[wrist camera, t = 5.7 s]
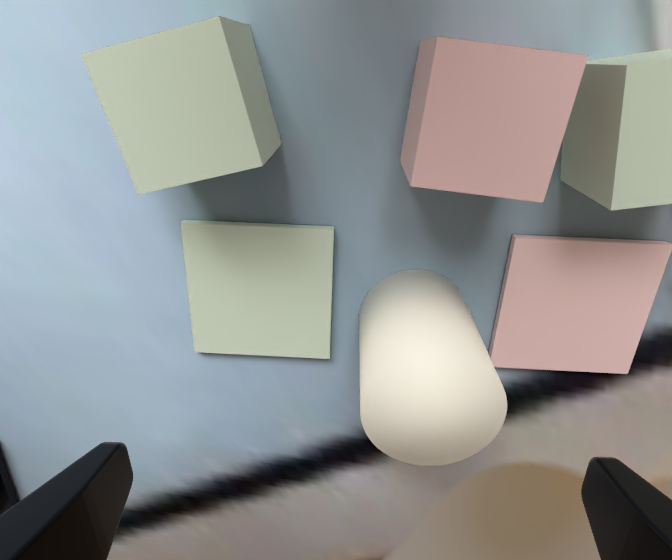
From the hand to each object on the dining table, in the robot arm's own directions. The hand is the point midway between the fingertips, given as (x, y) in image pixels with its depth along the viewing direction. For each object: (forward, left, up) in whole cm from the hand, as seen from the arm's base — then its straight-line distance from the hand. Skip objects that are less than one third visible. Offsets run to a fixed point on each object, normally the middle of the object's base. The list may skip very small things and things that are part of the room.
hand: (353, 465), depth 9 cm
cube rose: (+6, -4, -11) cm, 13 cm away
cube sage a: (+6, -9, -11) cm, 16 cm away
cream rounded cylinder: (-3, -3, -11) cm, 12 cm away
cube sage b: (+6, +5, -11) cm, 14 cm away
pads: (-2, -3, -11) cm, 12 cm away
